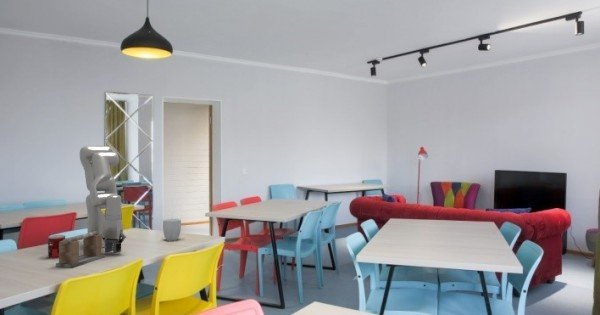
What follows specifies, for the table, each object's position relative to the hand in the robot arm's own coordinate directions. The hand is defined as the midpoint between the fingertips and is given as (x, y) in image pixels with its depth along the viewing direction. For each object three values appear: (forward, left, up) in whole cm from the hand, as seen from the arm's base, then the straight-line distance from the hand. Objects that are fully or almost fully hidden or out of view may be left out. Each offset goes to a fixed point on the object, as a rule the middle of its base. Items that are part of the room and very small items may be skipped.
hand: (113, 249), depth 230 cm
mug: (+11, +43, -3) cm, 44 cm away
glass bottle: (-30, +39, -3) cm, 49 cm away
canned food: (-24, -13, -3) cm, 28 cm away
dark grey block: (0, 0, -1) cm, 1 cm away
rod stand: (-4, -18, -2) cm, 19 cm away
